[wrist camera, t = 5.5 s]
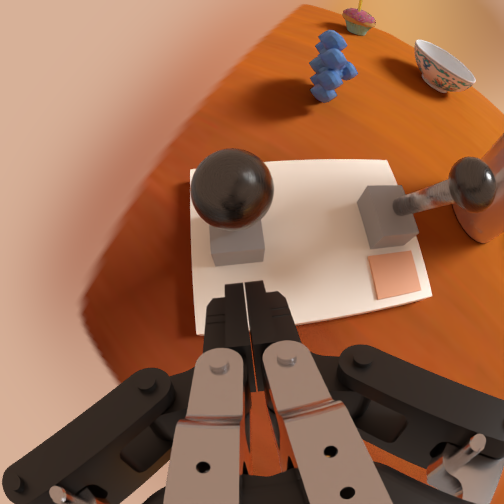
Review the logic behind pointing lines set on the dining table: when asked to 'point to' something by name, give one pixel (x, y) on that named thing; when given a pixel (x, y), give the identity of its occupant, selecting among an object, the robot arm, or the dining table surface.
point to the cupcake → (358, 20)
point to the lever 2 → (454, 190)
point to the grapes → (330, 66)
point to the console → (317, 244)
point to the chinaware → (442, 68)
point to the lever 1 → (232, 189)
